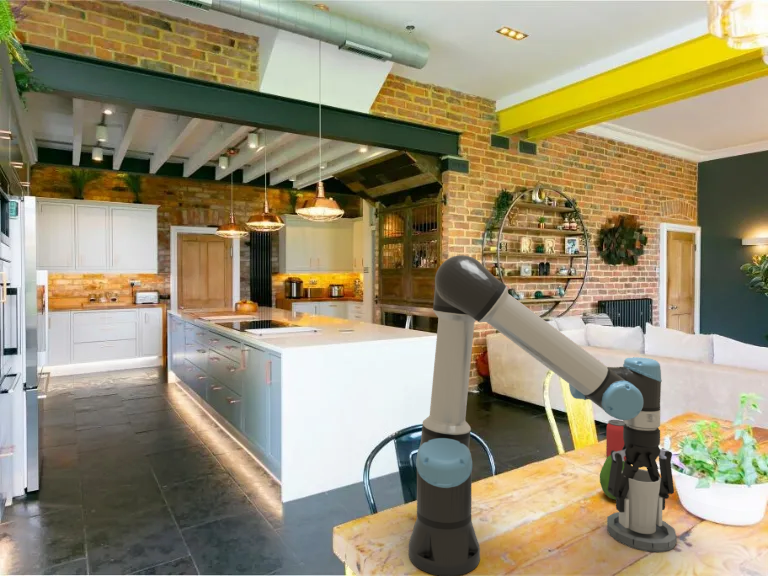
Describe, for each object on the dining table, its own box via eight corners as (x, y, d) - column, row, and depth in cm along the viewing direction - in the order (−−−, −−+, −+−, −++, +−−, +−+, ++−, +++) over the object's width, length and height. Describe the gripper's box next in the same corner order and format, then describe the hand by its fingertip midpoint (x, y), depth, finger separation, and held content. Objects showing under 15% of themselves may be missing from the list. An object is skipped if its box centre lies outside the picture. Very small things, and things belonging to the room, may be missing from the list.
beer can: (612, 453, 165) (612, 418, 164) (632, 459, 160) (632, 422, 159) (602, 458, 160) (602, 421, 160) (622, 464, 155) (623, 426, 155)
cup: (665, 537, 108) (666, 484, 108) (626, 533, 110) (627, 480, 109) (653, 519, 116) (653, 469, 116) (617, 516, 118) (617, 467, 117)
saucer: (630, 554, 105) (630, 544, 105) (595, 521, 119) (595, 513, 119) (690, 550, 107) (690, 541, 107) (649, 518, 121) (649, 510, 121)
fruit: (632, 495, 133) (632, 451, 133) (633, 507, 126) (633, 461, 126) (599, 490, 137) (600, 447, 136) (599, 502, 129) (599, 457, 129)
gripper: (609, 432, 107) (607, 535, 108) (694, 429, 110) (692, 530, 110) (591, 422, 115) (590, 518, 115) (671, 419, 117) (670, 513, 118)
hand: (640, 524), depth 113 cm, fingers closed on cup, 7 cm apart
